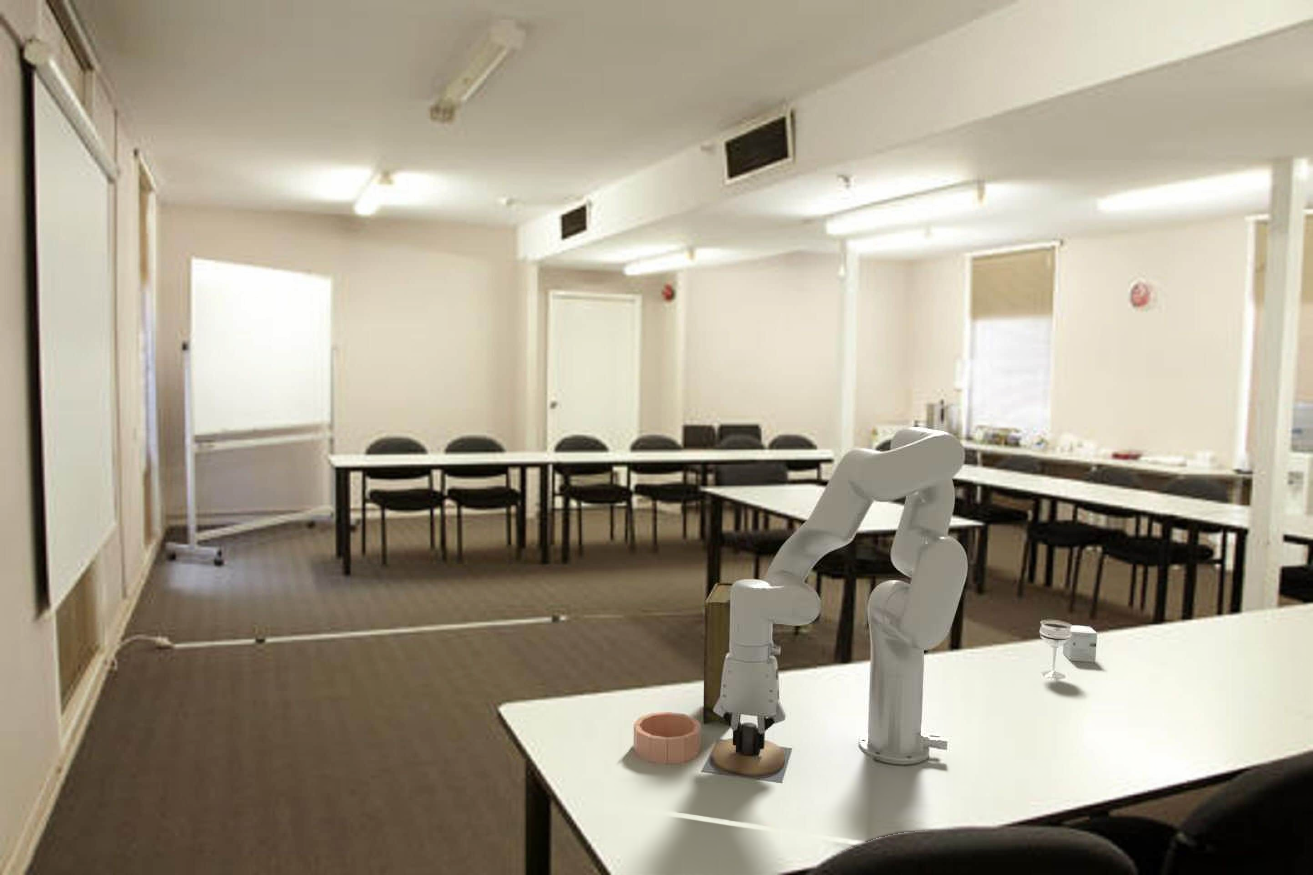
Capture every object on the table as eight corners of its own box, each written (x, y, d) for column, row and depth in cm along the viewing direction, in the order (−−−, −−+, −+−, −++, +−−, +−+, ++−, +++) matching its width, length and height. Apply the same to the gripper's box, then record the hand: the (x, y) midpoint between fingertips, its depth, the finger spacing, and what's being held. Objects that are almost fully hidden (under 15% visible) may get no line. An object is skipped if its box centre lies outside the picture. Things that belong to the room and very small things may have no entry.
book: (714, 696, 190) (716, 581, 188) (740, 698, 189) (742, 583, 187) (703, 727, 174) (705, 602, 172) (730, 729, 173) (733, 604, 171)
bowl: (706, 742, 167) (706, 716, 166) (691, 770, 155) (691, 742, 155) (645, 734, 170) (645, 709, 170) (626, 761, 159) (626, 734, 158)
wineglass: (1074, 679, 202) (1077, 628, 201) (1044, 679, 202) (1047, 628, 201) (1061, 669, 209) (1064, 619, 208) (1032, 669, 209) (1035, 619, 208)
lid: (789, 748, 163) (789, 715, 163) (779, 780, 151) (780, 745, 150) (719, 739, 167) (720, 707, 166) (704, 770, 154) (705, 736, 154)
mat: (792, 751, 164) (792, 748, 164) (781, 785, 150) (781, 782, 150) (717, 741, 167) (717, 738, 167) (701, 774, 154) (701, 771, 154)
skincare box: (1069, 660, 216) (1071, 631, 215) (1062, 652, 222) (1063, 624, 221) (1096, 662, 215) (1097, 632, 214) (1088, 654, 221) (1089, 625, 220)
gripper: (799, 648, 158) (796, 747, 160) (710, 639, 163) (708, 736, 164) (794, 661, 151) (791, 765, 153) (700, 652, 156) (699, 753, 157)
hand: (748, 749), depth 159 cm, fingers closed on lid, 2 cm apart
